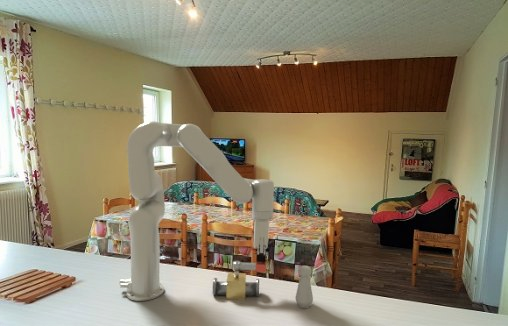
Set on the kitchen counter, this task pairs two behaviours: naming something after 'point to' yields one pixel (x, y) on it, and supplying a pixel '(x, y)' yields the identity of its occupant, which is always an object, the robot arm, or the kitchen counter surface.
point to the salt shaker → (304, 288)
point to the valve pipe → (236, 286)
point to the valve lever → (249, 266)
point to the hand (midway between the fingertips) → (260, 264)
